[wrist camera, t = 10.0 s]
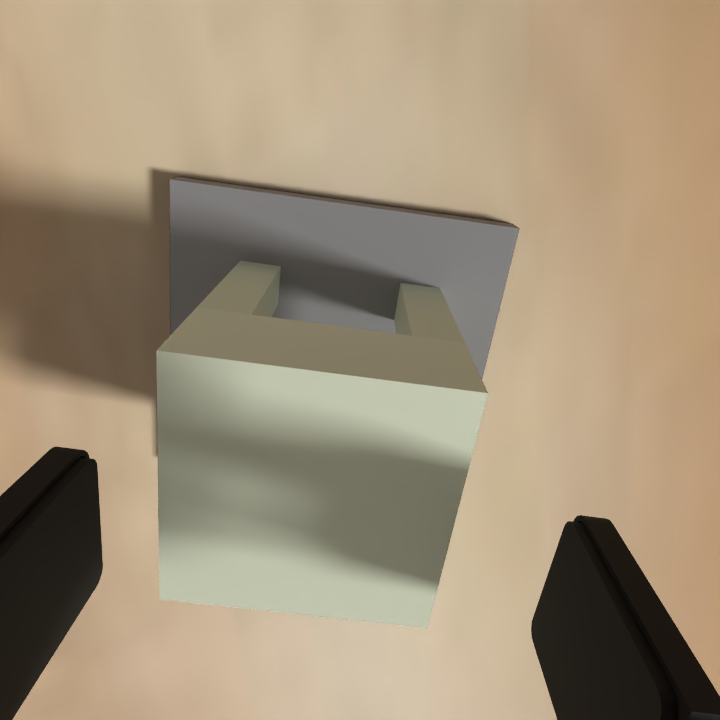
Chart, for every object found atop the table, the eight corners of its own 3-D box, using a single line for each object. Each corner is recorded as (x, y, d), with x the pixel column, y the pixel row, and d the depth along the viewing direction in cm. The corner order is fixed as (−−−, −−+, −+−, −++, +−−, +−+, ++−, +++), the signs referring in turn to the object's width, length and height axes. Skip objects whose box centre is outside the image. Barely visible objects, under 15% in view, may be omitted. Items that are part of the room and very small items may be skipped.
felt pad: (512, 223, 16) (519, 228, 16) (447, 493, 20) (450, 507, 20) (178, 177, 16) (169, 179, 15) (178, 461, 20) (171, 474, 19)
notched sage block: (440, 288, 16) (487, 393, 10) (405, 455, 19) (426, 628, 12) (240, 260, 16) (156, 350, 10) (231, 433, 18) (159, 599, 12)
